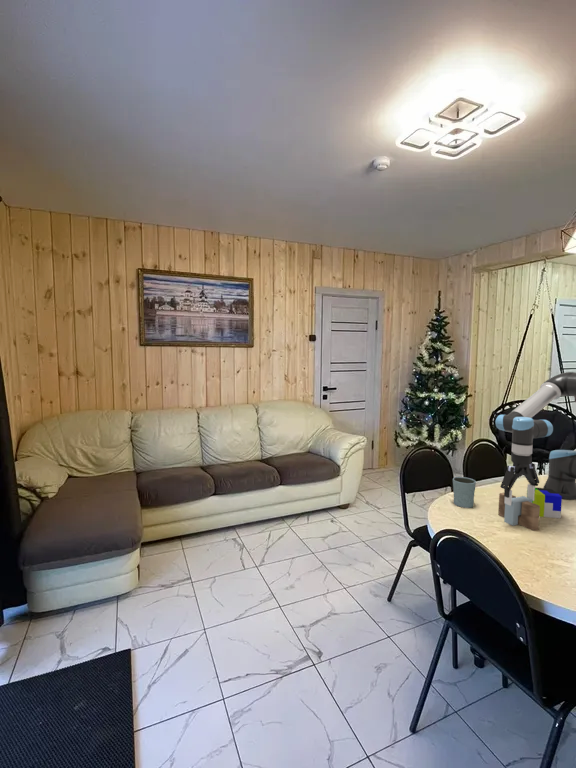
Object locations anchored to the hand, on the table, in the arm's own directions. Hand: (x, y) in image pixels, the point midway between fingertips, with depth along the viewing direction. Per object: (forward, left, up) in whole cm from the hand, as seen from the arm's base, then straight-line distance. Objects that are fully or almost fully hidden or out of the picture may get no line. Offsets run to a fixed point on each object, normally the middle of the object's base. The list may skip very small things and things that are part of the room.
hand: (519, 502), depth 162 cm
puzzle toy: (-20, -3, -9) cm, 22 cm away
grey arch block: (0, 0, -9) cm, 9 cm away
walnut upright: (0, 0, -9) cm, 9 cm away
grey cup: (+7, -23, -9) cm, 26 cm away
